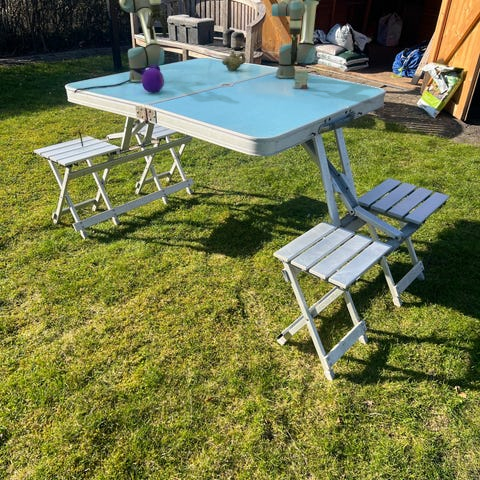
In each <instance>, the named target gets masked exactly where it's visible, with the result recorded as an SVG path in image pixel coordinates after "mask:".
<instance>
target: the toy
mask: <svg viewBox="0 0 480 480" xmlns="http://www.w3.org/2000/svg"><path fill="white" fill-rule="evenodd" d="M134 71H135V72H137V73H139V74H141V75H143V76H142V83H141V85H142V87H143V89H144V90H145V91H146V92H147V93H151V94H157V93H159V92H160V91H161V90H162V89H163V87H164V86H165V78H164V75H163V72H161V67H160V66H159V65H149V67H148V68H146V70H134Z"/></svg>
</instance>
